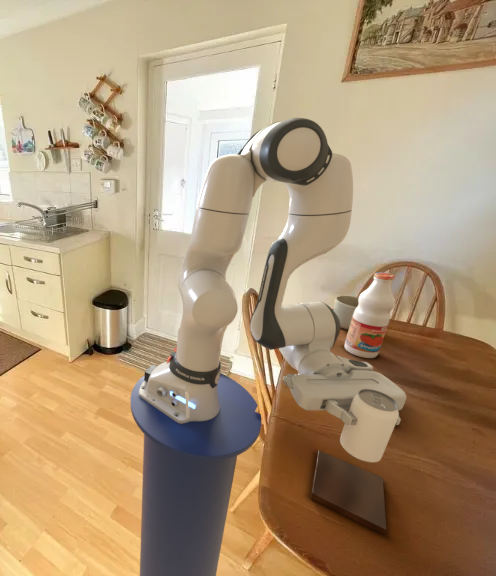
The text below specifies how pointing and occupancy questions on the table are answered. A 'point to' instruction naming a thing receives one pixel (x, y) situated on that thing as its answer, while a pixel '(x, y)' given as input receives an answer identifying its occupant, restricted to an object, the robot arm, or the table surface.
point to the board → (349, 491)
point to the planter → (345, 309)
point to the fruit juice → (371, 317)
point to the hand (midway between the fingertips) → (374, 422)
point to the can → (370, 425)
